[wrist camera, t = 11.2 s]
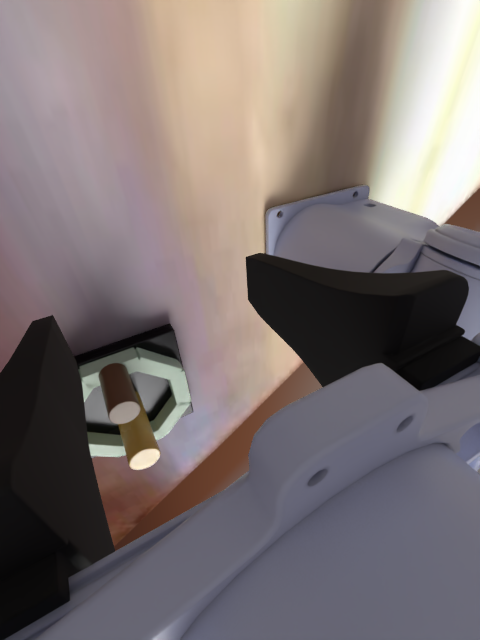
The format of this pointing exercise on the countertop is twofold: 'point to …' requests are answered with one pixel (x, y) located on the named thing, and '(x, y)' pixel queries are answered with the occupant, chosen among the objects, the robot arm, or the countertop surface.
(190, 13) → the countertop surface
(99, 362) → the ring
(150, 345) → the peg stand
